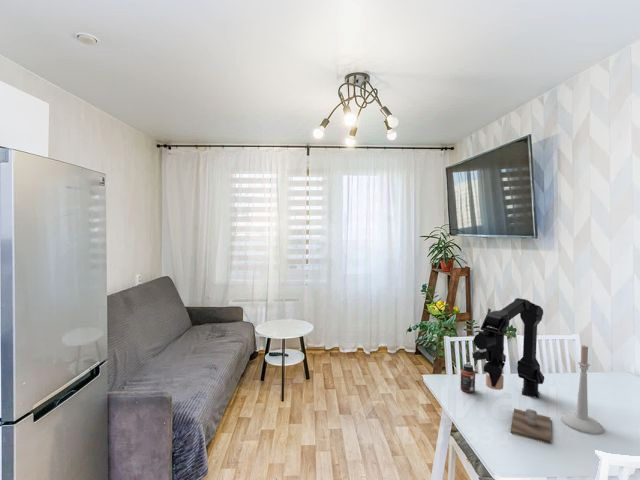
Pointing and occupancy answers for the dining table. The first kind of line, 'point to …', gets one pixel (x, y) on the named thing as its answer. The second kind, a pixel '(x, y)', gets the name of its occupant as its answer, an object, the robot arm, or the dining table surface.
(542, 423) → the post board
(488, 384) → the cap
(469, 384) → the supplement bottle
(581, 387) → the candlestick
